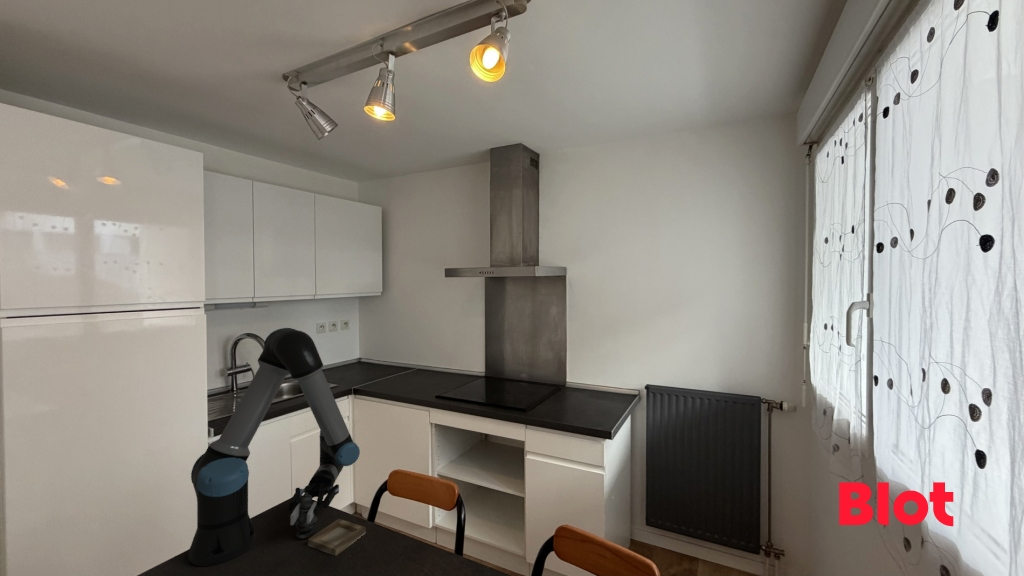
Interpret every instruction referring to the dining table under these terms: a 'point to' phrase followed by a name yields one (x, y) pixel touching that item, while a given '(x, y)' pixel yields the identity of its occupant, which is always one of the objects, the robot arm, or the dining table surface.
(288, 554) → the dining table surface
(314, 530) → the dark grey tall figure
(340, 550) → the square wooden tray
